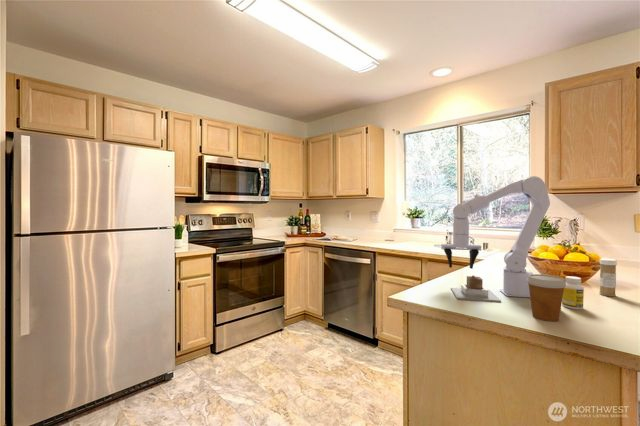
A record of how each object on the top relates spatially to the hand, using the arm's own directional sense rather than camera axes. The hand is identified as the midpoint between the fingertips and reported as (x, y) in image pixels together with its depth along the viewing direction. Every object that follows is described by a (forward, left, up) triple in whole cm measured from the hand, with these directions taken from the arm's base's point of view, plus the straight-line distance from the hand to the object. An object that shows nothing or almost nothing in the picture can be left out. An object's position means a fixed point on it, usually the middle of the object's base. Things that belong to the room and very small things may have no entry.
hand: (460, 267), depth 124 cm
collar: (-3, +9, -8) cm, 13 cm away
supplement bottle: (-31, +16, -9) cm, 36 cm away
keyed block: (-3, +9, -8) cm, 13 cm away
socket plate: (-3, +9, -8) cm, 13 cm away
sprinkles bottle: (-51, -3, -9) cm, 52 cm away
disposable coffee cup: (-18, +29, -9) cm, 35 cm away
